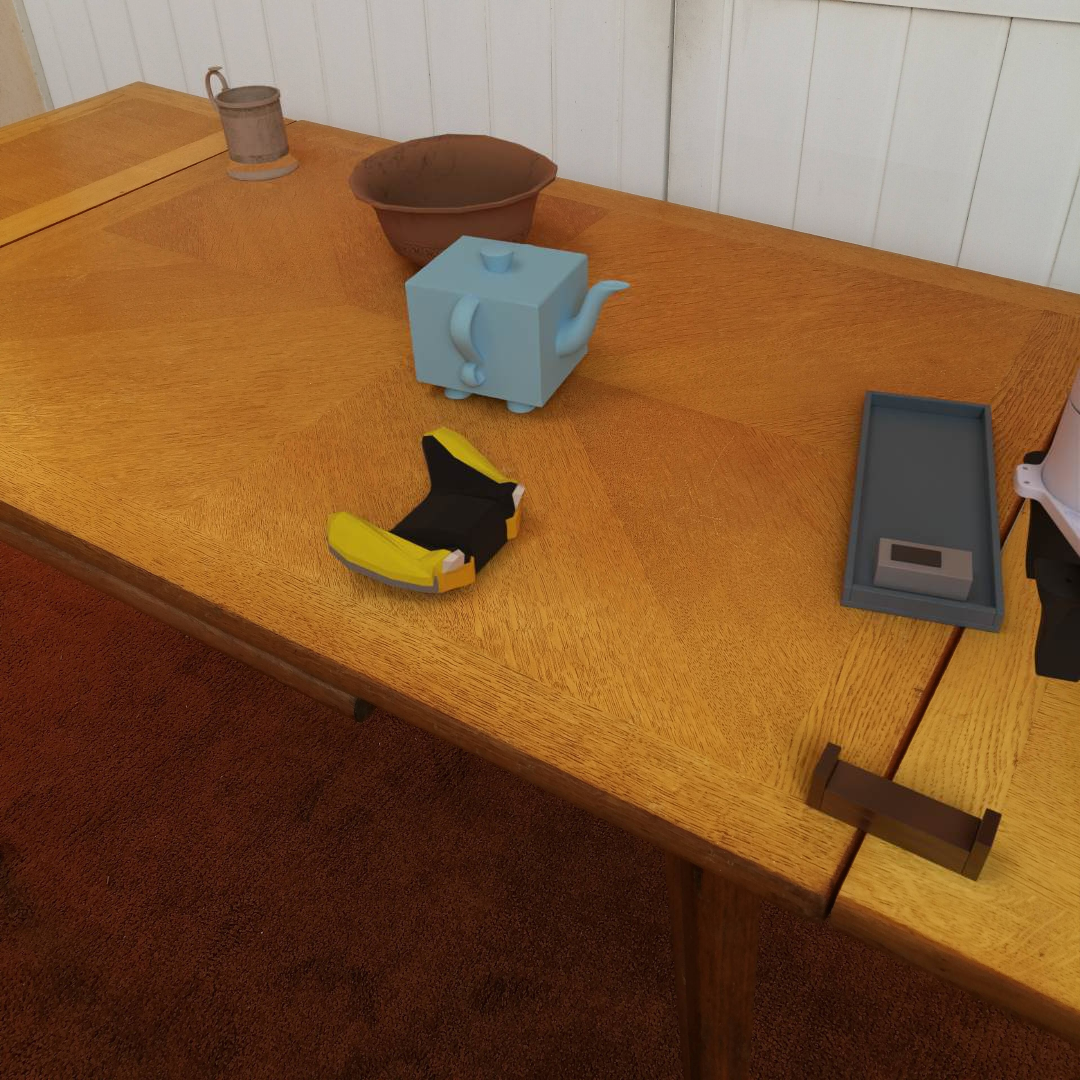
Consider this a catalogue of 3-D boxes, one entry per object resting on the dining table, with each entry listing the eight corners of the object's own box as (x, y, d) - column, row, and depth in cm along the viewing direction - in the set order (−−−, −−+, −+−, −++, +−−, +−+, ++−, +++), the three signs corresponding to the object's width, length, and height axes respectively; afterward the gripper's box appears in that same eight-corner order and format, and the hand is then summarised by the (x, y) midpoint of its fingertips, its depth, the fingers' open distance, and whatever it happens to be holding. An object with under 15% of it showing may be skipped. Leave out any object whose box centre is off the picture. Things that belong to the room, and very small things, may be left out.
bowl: (547, 220, 121) (544, 127, 114) (573, 301, 104) (572, 197, 97) (364, 234, 119) (350, 140, 112) (360, 319, 102) (343, 214, 95)
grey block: (965, 573, 69) (972, 549, 67) (965, 602, 67) (973, 578, 65) (874, 558, 70) (880, 535, 69) (872, 586, 68) (878, 562, 67)
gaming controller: (322, 582, 71) (438, 629, 67) (308, 521, 68) (429, 567, 64) (442, 472, 81) (549, 508, 77) (435, 415, 77) (547, 448, 73)
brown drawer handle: (987, 847, 53) (1002, 813, 51) (976, 882, 51) (991, 848, 50) (820, 774, 57) (828, 741, 55) (805, 805, 55) (812, 771, 53)
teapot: (404, 410, 88) (385, 273, 80) (483, 332, 99) (474, 204, 91) (593, 453, 82) (594, 309, 74) (655, 365, 93) (662, 231, 85)
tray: (985, 422, 84) (990, 404, 83) (998, 633, 65) (1005, 614, 64) (862, 406, 87) (866, 389, 85) (840, 605, 68) (844, 587, 66)
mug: (312, 165, 139) (296, 72, 131) (254, 186, 133) (233, 90, 125) (251, 145, 146) (232, 56, 139) (193, 163, 141) (170, 72, 133)
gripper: (1032, 324, 52) (969, 529, 60) (1055, 486, 41) (974, 707, 50) (1184, 340, 50) (1097, 549, 58) (1250, 513, 39) (1131, 737, 48)
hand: (1050, 623), depth 54 cm, fingers open, 7 cm apart
